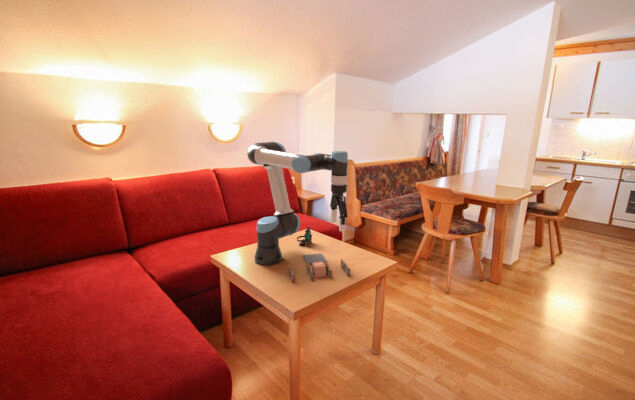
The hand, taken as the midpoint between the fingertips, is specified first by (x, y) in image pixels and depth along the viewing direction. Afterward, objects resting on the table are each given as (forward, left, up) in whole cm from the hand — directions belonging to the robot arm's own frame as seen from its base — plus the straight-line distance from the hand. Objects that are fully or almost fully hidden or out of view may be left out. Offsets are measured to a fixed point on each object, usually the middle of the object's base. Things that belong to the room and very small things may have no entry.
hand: (337, 226), depth 157 cm
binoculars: (-41, -8, -25) cm, 49 cm away
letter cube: (0, -9, -25) cm, 26 cm away
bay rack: (0, -9, -25) cm, 26 cm away
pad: (-17, -7, -25) cm, 31 cm away
